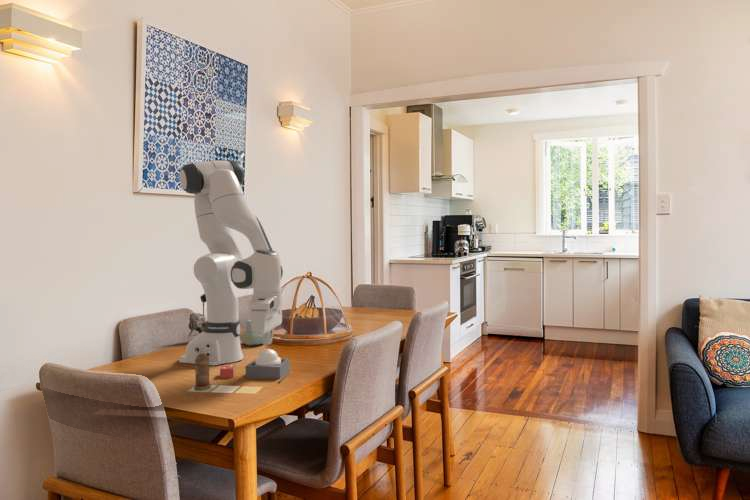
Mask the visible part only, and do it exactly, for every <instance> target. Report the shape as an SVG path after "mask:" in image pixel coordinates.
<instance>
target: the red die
mask: <svg viewBox="0 0 750 500" xmlns="http://www.w3.org/2000/svg"><path fill="white" fill-rule="evenodd" d="M235 367H236V366H235V365H232V364H231V365H221V366H220V369H219V376H220V377H219V378H220V379H223V378H225V379H226V378H228V379H229V378H234V377H235V374H236V373H235V372H236V370H235V369H236V368H235Z"/></svg>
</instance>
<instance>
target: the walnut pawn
mask: <svg viewBox="0 0 750 500" xmlns="http://www.w3.org/2000/svg"><path fill="white" fill-rule="evenodd" d="M195 363H196V364H195V371H194V372H195V384H194V385H193V387H194V389H195V390H198V391H202V390H208V389H210V388H211V385H212V384H211V382H210V365H209V364H208V363H209V357H208V356H207V355H206V354H203V353H202V354H199V355H197V356H196V358H195Z"/></svg>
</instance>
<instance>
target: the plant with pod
mask: <svg viewBox="0 0 750 500" xmlns="http://www.w3.org/2000/svg"><path fill="white" fill-rule="evenodd" d="M200 301H201V302H202V313H197V312H194V313H193V312H192V313H190V315H189V323H188V328H189V330H190V332H189V333H188V336H187V339H190V337H191V335H192V333H193V331H195V332H198V335H199V334H200V333H201V332H202V331H203V327H202V328H200V327H201V326H202V325H201V324H203V323H204V322H206V321H207V318H206V316H205V303H207V302H206V296H205V293H203V294H202V295H200Z"/></svg>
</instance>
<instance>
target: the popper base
mask: <svg viewBox="0 0 750 500" xmlns="http://www.w3.org/2000/svg"><path fill="white" fill-rule="evenodd" d="M257 358H258V357H256V358H255V359H253V360H252V361H251V362H249V363H247V364H246V365H245V378H246V379H263V380H264V379H265V380H266V379H267V380H269V379H270V380H279V381H278V382H277V384H281V383H282V382H283V381H284V380H285V379H286V378H287V377H288V376H289V375H291V370H290V369H291V363H290V362H291V360H290V358H282V357H280V358H281V364H280V365H279V366H256V365H255V360H256V359H257Z"/></svg>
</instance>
